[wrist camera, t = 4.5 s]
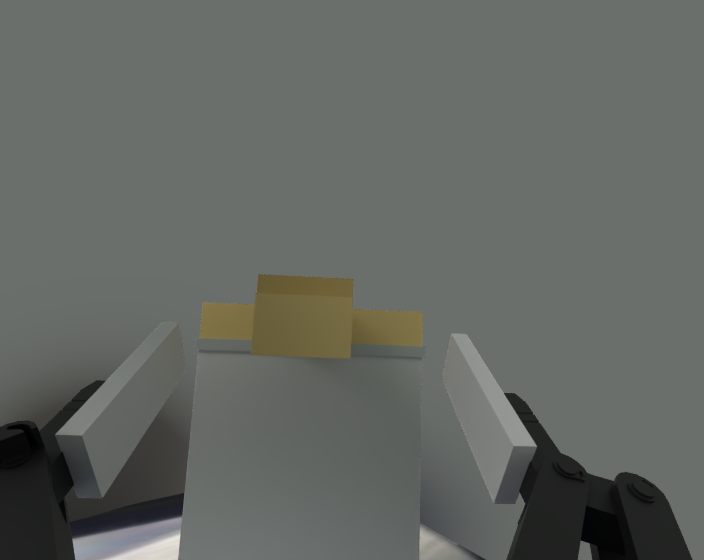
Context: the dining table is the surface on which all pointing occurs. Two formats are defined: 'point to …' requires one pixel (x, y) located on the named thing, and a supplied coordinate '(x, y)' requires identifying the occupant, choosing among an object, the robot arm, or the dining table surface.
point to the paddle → (308, 319)
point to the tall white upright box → (304, 455)
